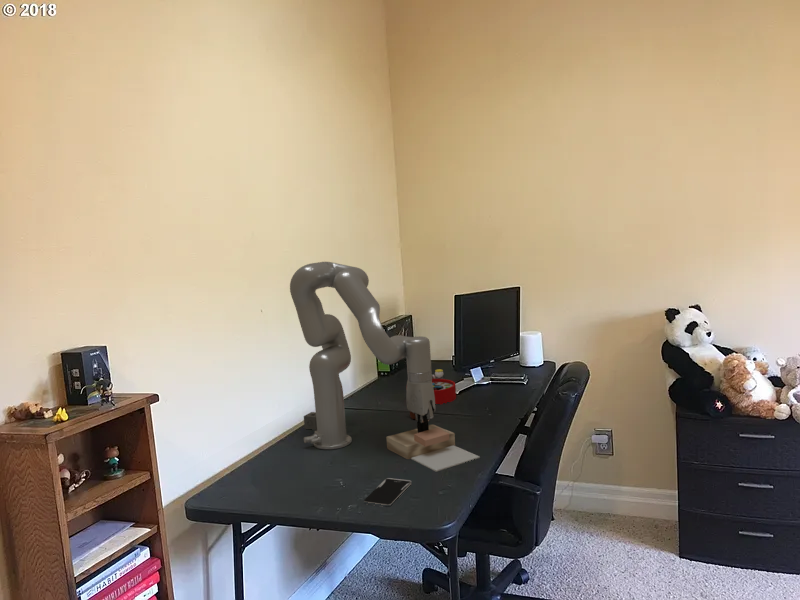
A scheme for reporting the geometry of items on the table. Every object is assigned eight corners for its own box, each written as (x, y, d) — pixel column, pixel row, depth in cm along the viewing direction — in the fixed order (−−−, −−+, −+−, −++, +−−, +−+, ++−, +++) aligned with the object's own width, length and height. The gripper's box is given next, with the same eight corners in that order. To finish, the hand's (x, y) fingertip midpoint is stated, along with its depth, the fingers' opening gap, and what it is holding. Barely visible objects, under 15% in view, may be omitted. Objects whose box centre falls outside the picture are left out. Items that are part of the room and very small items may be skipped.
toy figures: (446, 381, 280) (445, 363, 279) (443, 384, 276) (442, 365, 275) (421, 381, 284) (419, 363, 283) (418, 383, 280) (416, 365, 279)
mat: (436, 471, 178) (436, 470, 178) (411, 459, 189) (411, 457, 189) (479, 457, 187) (479, 456, 187) (453, 446, 198) (453, 445, 198)
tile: (425, 446, 189) (425, 440, 188) (414, 440, 194) (414, 434, 193) (449, 439, 193) (449, 433, 193) (437, 433, 198) (437, 427, 198)
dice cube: (304, 429, 225) (303, 416, 224) (312, 425, 229) (311, 412, 229) (316, 430, 223) (315, 417, 222) (324, 426, 227) (323, 413, 227)
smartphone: (362, 501, 161) (386, 477, 174) (363, 506, 161) (387, 482, 175) (389, 504, 158) (412, 480, 171) (390, 509, 158) (412, 485, 171)
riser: (407, 459, 189) (406, 446, 189) (387, 448, 200) (386, 436, 199) (455, 445, 199) (454, 433, 198) (433, 436, 209) (432, 424, 208)
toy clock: (400, 391, 247) (412, 378, 266) (401, 405, 248) (413, 392, 267) (450, 391, 242) (458, 378, 261) (451, 406, 243) (459, 392, 262)
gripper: (396, 374, 199) (400, 430, 201) (423, 383, 187) (427, 442, 189) (416, 370, 203) (419, 425, 205) (443, 378, 191) (447, 436, 193)
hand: (423, 433), depth 197 cm, fingers closed
